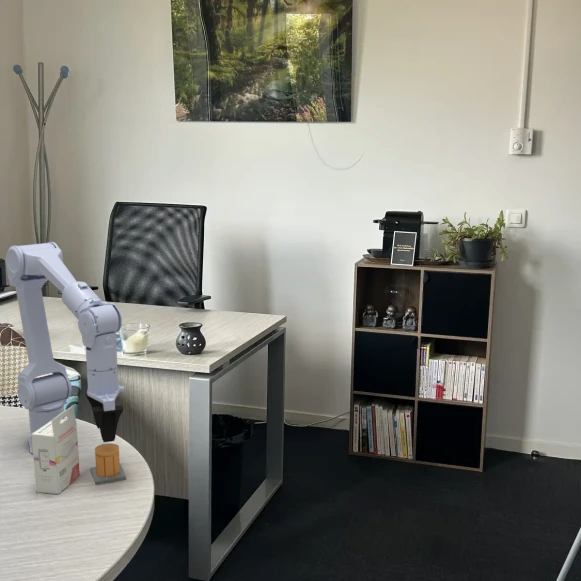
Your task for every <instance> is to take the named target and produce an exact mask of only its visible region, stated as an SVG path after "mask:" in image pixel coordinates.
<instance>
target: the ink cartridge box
mask: <svg viewBox="0 0 581 581" xmlns="http://www.w3.org/2000/svg"><path fill="white" fill-rule="evenodd" d="M74 407H75V406H73V405H71V406H70V407H69V408H67V409H64V412H62V413H61V414H59V415H58V416H57V417H55V418H54V419H52V420H51V421H50V422H49V423H47V424H46V425H44V426H43V427H41V428H40V429H38V430H37V431H35V432H34V433H32V434H30V436H31V437H32V447H33V454H32V458H33V467H34V468H33V470H34V478H35V480H34V481H35V489H36V490H35V492H36V493H43V494H51V495H52V494H53V495H59V494H61V493H62V492H63V491H64V490H66V488H68V486H70V485H71V484H72V483H73V482H74V481H75V480H76V479H77V478H78V477H79V476H80V459H79V458H80V456H79V445H78V428H77V419H76V415H75V414H76V413H75V408H74ZM63 416H64V419H62V418H63ZM66 417H67V418H66ZM65 418H66V419H65Z"/></svg>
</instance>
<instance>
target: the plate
mask: <svg viewBox="0 0 581 581" xmlns="http://www.w3.org/2000/svg"><path fill="white" fill-rule="evenodd" d="M90 473H91V475H92V478H93V482H94V484H95V485H102V484H107V483H114V482H119V481H124V480H125V481H126V480H127V476H126V474H125V471H124V469H123V466H122V465H121V464H120V472H119V473H117V474H116V475H114V476H108V477H106V476H105V477H103V476H98V475H97V473H96V466H93V467H90Z"/></svg>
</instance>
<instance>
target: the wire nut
mask: <svg viewBox="0 0 581 581" xmlns="http://www.w3.org/2000/svg"><path fill="white" fill-rule="evenodd" d="M94 456H95V457H94V458H95V459H94V460H95V467H96V473H97V475H98V476H103V477H105V476H106V477H108V476H114V475H116V474H117V473H119V472H120V465H121V463H120V446H119V445H118V444H116V443H110V442H107V443H101V444H99V445H97V446H96V447H95V448H94Z"/></svg>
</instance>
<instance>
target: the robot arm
mask: <svg viewBox="0 0 581 581" xmlns="http://www.w3.org/2000/svg"><path fill="white" fill-rule="evenodd" d="M4 259H5V266H6V273H7V278H8V282H9V286H12V287H14V288H15V291H16V292H15V293H16V297H17V303H18V309H19V314H20V320H21V325H22V332H23V337H24V343H25V350H26V354H27V360H28V363H27V365H26V366H25V367H24V368H23V369H22V370H21V372H20V373H19V374H18V376H17V382H18V388H17V395H18V399H19V402H20V404H21V405H22V406H23V408H25V409H26V410H28V416H29V417H28V419H29V431H30V432H29V433H30V434H29V436H28V437H27V440H28V441H27V442H28V446H29V453H30V454H32V455H33V447H32V437H31V434H32V433H34V432H35V431H37V430H38V429H40V428H41V427H43V426H44V425H46V424H47V423H49V422H50V421H51V420H52V419H54V418H55V417H57V416H58V415H59V414H61V413H62V412H64V411H65V407H64V405H67V402H68V400H69V398H70V397H71V394H72V391H73V390H72V389H73V388H72V382H71V379H70V377H69V375H68V373H67V369H66V366H65V365H63V364H62V363H60V362H58V361H56V360H55V359H54V355H53V349H52V343H51V338H50V333H49V326H48V320H47V314H46V311H45V310H46V308H45V302H44V297H43V296H44V295H43V291H42V288H43V286H44V284H45V283H46V282H49V281H50V283H52V285H53V286H55V287H56V288H57V290H58V291H60V292H61V293H62V294H61V301H62V303H63V304H64V305H65V306H66V307H67V309H68V310H69V312H71V313H72V314H73V316H74V317H75V318H76V319H77V326H78V330H79V332H80V335H81V340H82V341H81V342H82V344H83V346H84V347H85V358H86V359H85V360H86V362H85V363H86V376H87V378H86V379H87V390H86V393H85V397H86V398H87V400H88V402H89V404H90V406H91V411H92V413H93V417H94V422H95V425H96V428H97V429H99V432H100V435H101V440H102V442H103V443H110V442H115V440H116V436H117V435H116V434H117V428H118V425H119V421H120V417H121V415H122V414H123V411H124V406H123V405H116V399H117V398H118V395H119V394H120V393H123V392H125V391H126V389H125V386H124V385H119V374H118V373H119V372H118V371H119V370H118V349H117V347H118V346H117V333H118V332H119V331H120V330H121V329H122V325H123V323H122V322H123V319H122V314H121V311H120V310H119V308H118V307H117V304H115V303H113V302H107V301H103V300H102V299H101V298H100V297H99V296H98V295H97V293H95V291H93V290H92V288H91V287H90V286H89V284H87V283H86V282H85V281H78V280H76V278H75V277H74V275H73V274H72V273H71V271H70V270H69V268H68V267H67V266H66V265H65V264H64V257H63V251H62V249H60V247H59V245H58V244H57V243H56V242H54V241H49V242H43V243H33V244H25V245H11V246H10V247H9V248H8V250H7V252H6V256H5V258H4ZM62 419H65V417H64V416H63V418H62Z"/></svg>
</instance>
